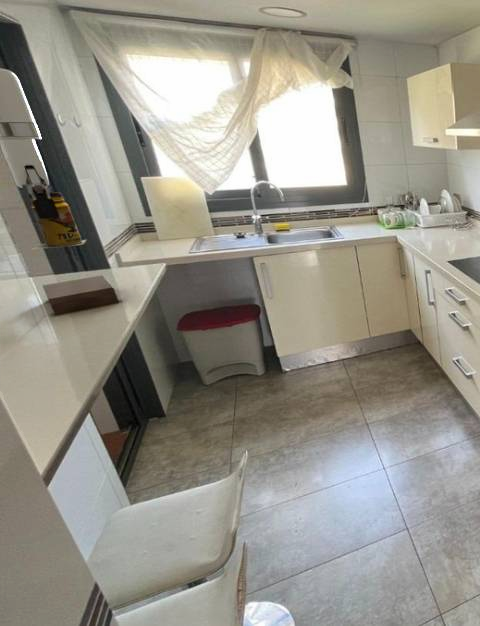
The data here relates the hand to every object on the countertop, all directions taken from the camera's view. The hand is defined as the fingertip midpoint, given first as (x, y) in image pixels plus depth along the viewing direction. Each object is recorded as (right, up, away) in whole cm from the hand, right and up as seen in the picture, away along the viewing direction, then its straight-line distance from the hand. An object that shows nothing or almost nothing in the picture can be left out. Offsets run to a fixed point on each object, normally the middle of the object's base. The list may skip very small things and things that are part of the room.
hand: (48, 215), depth 105 cm
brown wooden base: (0, -20, +8) cm, 21 cm away
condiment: (0, -7, +3) cm, 7 cm away
